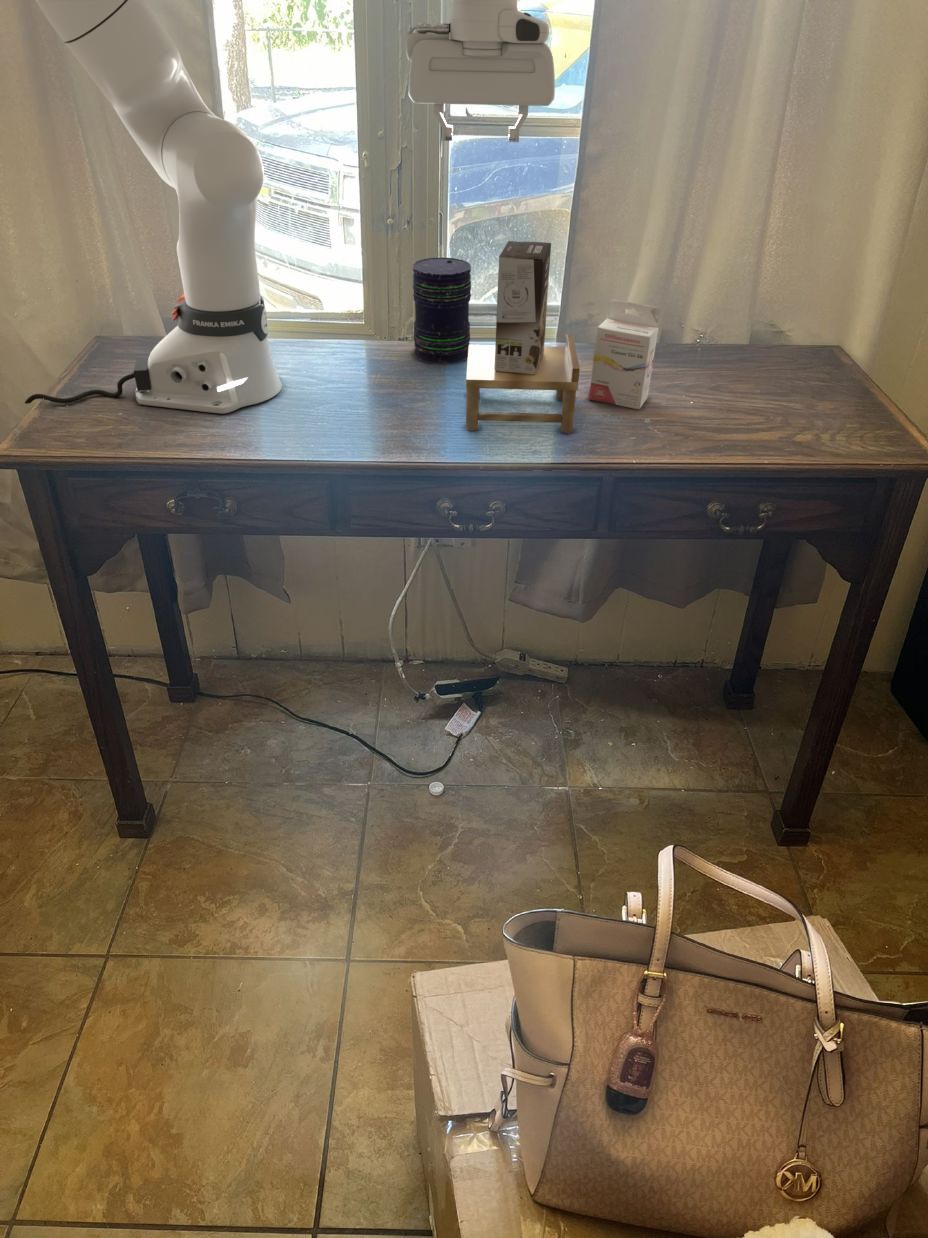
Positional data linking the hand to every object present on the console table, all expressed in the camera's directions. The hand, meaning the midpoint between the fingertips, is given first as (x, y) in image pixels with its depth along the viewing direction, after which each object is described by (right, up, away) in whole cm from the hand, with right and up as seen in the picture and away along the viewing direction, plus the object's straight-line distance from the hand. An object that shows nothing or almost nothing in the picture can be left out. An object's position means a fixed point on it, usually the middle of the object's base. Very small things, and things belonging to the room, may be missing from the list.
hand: (480, 140), depth 126 cm
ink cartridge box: (+22, -33, +15) cm, 43 cm away
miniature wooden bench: (+6, -36, +10) cm, 38 cm away
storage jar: (-6, -22, +29) cm, 37 cm away
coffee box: (+6, -30, +5) cm, 31 cm away
